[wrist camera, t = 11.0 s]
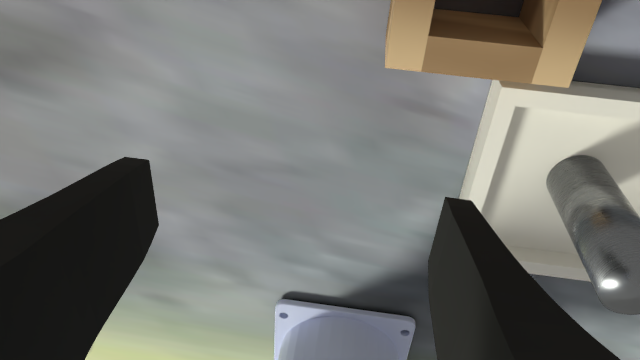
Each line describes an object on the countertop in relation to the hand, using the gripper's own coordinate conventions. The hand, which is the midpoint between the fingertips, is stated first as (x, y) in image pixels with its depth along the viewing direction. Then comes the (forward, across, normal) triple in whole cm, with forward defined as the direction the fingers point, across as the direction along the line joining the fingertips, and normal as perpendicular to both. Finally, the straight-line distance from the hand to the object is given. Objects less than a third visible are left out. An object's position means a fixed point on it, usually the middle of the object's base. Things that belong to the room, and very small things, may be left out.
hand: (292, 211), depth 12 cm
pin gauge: (+9, -11, +4) cm, 15 cm away
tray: (+10, -11, +4) cm, 15 cm away
